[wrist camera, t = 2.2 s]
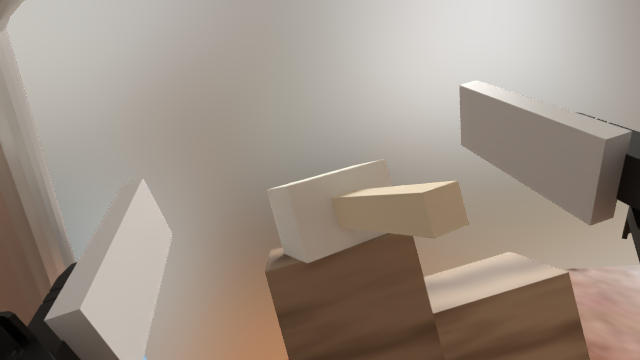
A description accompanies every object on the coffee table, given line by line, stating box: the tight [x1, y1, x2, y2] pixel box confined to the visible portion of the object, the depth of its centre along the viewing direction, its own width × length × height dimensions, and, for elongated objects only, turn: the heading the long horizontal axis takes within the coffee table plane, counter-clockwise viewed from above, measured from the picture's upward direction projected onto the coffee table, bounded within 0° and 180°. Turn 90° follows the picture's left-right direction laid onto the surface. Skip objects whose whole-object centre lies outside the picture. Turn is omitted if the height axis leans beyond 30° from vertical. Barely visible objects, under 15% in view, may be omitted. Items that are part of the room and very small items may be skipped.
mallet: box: [267, 159, 469, 263], centre depth 26 cm, size 17×9×6 cm, turn 22°
